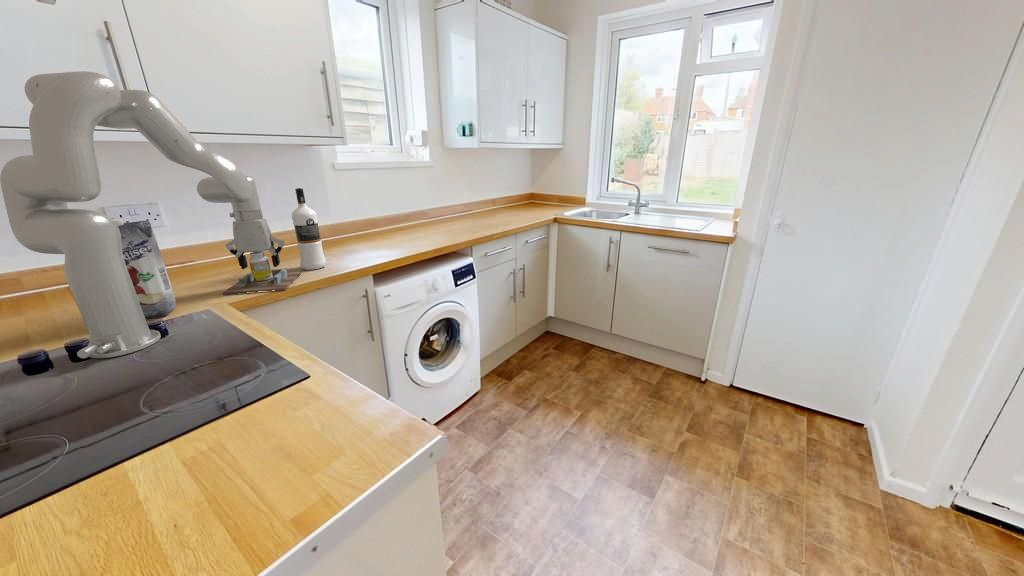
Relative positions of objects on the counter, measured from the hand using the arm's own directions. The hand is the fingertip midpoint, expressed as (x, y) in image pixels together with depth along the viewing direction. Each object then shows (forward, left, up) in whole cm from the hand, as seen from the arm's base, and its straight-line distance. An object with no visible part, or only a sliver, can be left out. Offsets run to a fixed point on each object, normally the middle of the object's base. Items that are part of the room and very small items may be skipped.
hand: (260, 267), depth 130 cm
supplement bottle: (0, 0, -5) cm, 5 cm away
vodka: (+18, -11, -6) cm, 22 cm away
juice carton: (-22, +21, -6) cm, 31 cm away
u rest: (0, 0, -6) cm, 6 cm away
